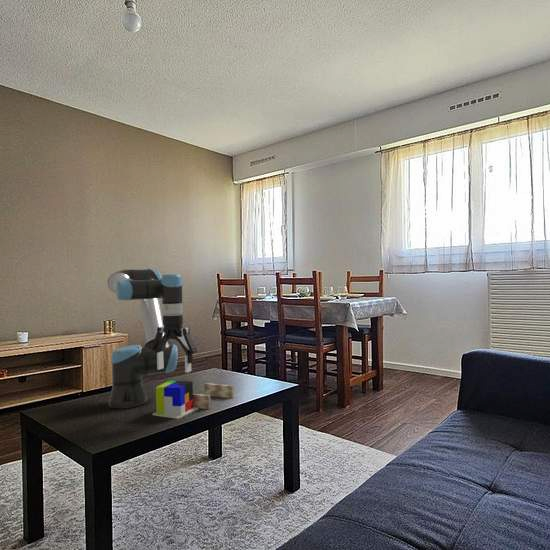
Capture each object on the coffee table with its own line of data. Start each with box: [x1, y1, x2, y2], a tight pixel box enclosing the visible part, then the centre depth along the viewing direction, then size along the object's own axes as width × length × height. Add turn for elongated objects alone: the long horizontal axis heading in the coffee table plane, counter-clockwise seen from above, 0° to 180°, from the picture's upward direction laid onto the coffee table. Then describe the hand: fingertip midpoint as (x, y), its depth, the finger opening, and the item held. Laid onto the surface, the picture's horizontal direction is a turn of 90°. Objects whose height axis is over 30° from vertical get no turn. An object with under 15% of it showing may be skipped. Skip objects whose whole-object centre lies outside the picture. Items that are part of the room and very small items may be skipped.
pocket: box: [193, 382, 234, 410], centre depth 170 cm, size 14×17×5 cm
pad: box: [152, 407, 199, 420], centre depth 157 cm, size 12×12×1 cm
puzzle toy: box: [155, 380, 194, 416], centre depth 157 cm, size 10×10×10 cm
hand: (174, 370), depth 158 cm, fingers open, 13 cm apart
